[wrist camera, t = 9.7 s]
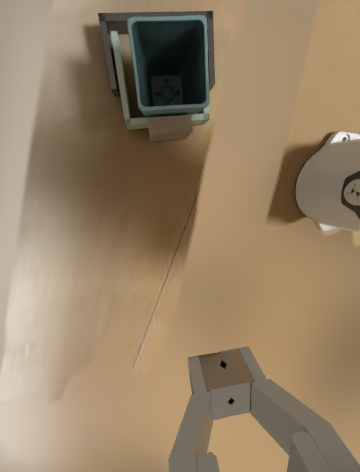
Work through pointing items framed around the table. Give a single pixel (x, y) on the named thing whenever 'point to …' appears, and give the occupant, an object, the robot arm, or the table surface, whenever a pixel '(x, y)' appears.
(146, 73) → the flower pot
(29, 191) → the table surface
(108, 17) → the frame
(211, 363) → the robot arm
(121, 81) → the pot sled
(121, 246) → the table surface
